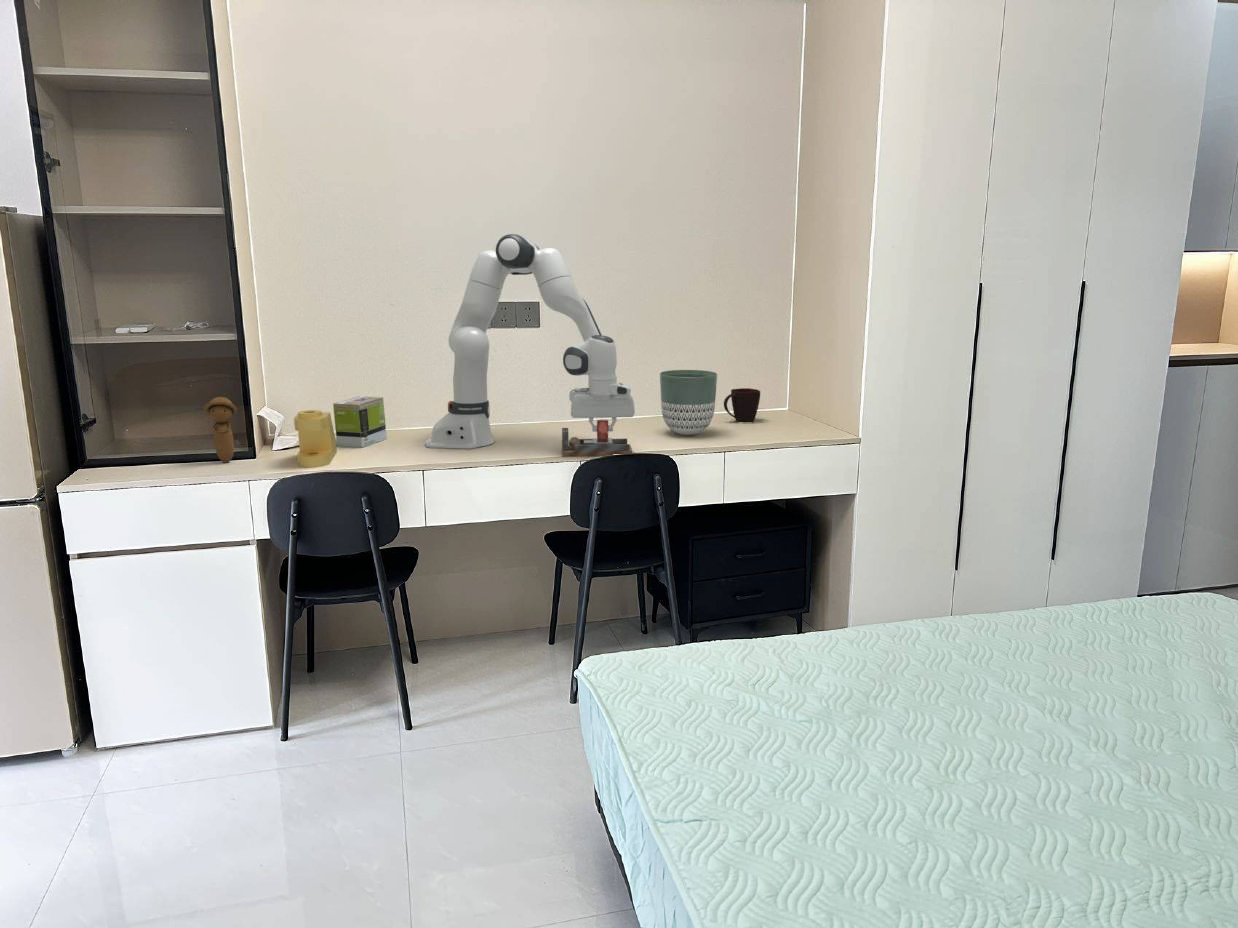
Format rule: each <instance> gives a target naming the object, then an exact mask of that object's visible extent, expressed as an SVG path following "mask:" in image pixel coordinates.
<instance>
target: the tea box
mask: <svg viewBox="0 0 1238 928" xmlns="http://www.w3.org/2000/svg"><path fill="white" fill-rule="evenodd" d="M384 403H385V402H384V397H382V396H381V397H379V396H378V397H377V396H356V397H352V398H348V399H344V400H342V401H337V402H335V403H333V405H332V406H333V407H332V408H333V416H334V417H333V419H334V425H335V426H334V427H335V440H336V447H343V448H345V447H346V448H358V449H362V448H365V447H368V446H371V445H373V444H374V445H375V444H376V443H379V442H381V441H383V440H387V427H386V426H387V425H386V415H385V404H384Z"/></svg>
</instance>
